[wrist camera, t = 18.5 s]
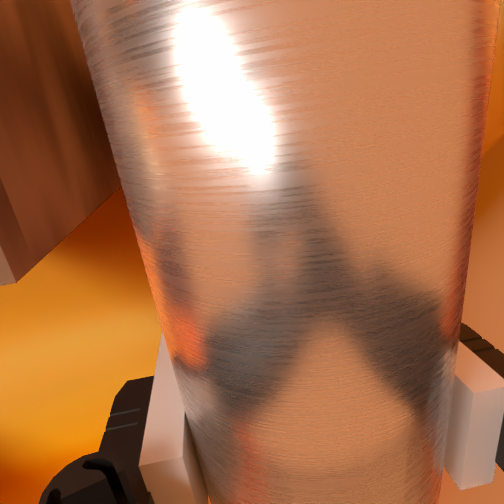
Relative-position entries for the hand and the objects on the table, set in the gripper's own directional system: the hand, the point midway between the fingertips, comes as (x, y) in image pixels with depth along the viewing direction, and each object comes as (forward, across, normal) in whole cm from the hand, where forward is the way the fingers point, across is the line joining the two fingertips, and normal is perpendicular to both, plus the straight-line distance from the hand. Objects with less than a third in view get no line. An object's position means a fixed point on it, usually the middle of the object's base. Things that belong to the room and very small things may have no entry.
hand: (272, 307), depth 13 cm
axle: (-2, 0, +5) cm, 5 cm away
